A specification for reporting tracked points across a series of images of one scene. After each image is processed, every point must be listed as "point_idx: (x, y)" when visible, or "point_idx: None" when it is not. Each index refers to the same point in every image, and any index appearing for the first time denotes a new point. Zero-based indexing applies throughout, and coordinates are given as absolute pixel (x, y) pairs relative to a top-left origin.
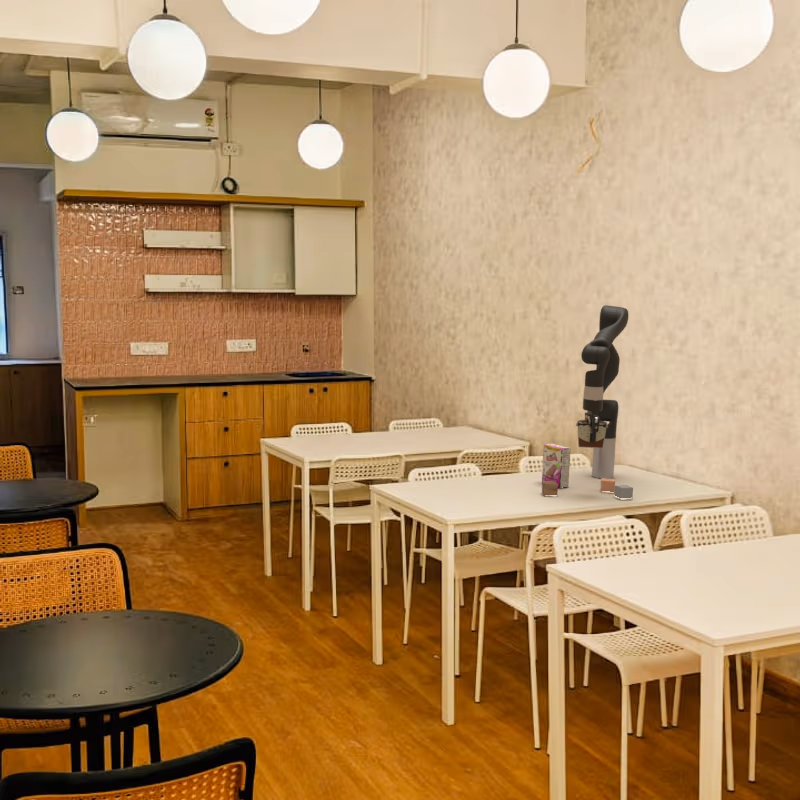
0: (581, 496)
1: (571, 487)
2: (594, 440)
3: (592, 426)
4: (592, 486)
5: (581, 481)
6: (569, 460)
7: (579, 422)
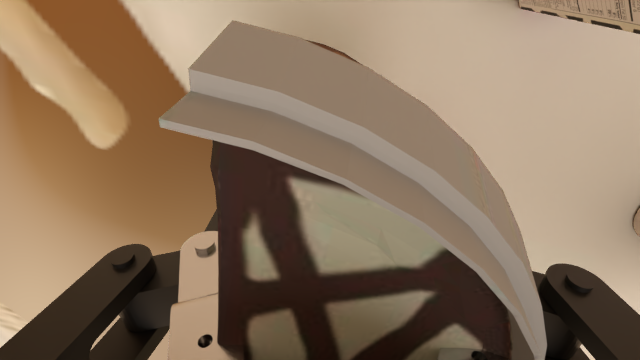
0: (329, 29)
1: (520, 27)
2: None
3: (40, 322)
4: (520, 128)
5: (631, 108)
6: (606, 24)
7: (346, 200)
